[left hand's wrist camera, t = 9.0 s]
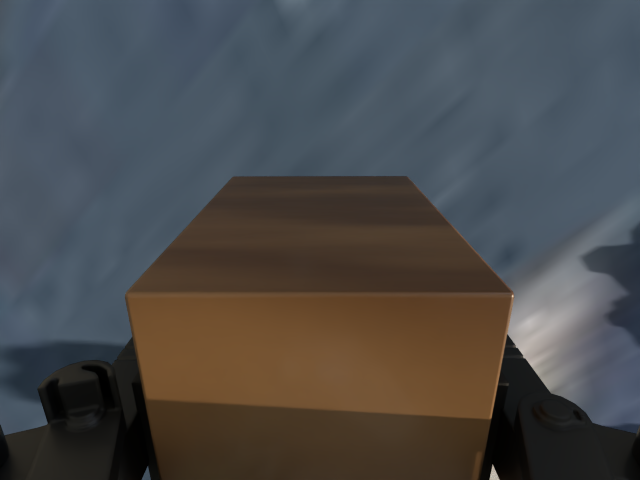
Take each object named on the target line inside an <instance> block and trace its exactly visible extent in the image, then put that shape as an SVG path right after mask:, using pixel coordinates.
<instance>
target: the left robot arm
mask: <svg viewBox="0 0 640 480" xmlns="http://www.w3.org/2000/svg"><path fill="white" fill-rule="evenodd" d="M38 393H39V396H40V399H41V402H42V406H43V409H44V412H45V415H46V419H47V422H48V424H47V425H45V426H42V427H38V428H34V429H30V430H26V431H21V432H17V433H13V434H8V435H4V433H3V431H2V428H1V425H0V480H142V477H143V475H144V473H145V471H146V468H147V466H148V468H149V472H150V477H151V480H160V477H159V472H158V466H157V461H156V456H155V451H154V446H153V440H152V435H151V430H150V425H149V420H148V415H147V409H146V404H145V399H144V394H143V389H142V383H141V378H140V373H139V368H138V363H137V357H136V352H135V347H134V342H133V337H132V338H131V339H130V341H129V342H128V343H127V345H126V346H125V349H123V350H122V352H121V353H120V354H119V356H118V357H117V360H115V361H114V363H113V364H112V365H110V364H109V363H108V362H104V361H100V360H89V361H82V362H78V363H74V364H70V365H68V366H66V367H64V368H62V369H59V370H57V371H55V372H54V373H53V374H51V375H50V376H49V377H47V378H46V379H45V380H44V381H43V382H42V383H41V385H40V386H39V387H38ZM492 464H493V466H494V468H495V470H496V472H497V475H498V477H499V479H500V480H640V426H639V429H638V432H637V434H635V433H631V432H627V431H622V430H618V429H614V428H609V427H605V426H601V425H598V424H594V423H592V421H591V420H590V418H589V417H588V415H587V414H586V413H585V412H584V411H583V410H582V409H581V408H579V407H578V406H577V405H576V404H575V403H573V402H571V401H569V400H567V399H565V398H563V397H561V396H558V395H554V394H551V393H550V392H549V390H548V389H547V387H546V386H545V385H544V383H543V382H542V381H541V379H540V378H539V377H538V375H537V374H536V373H535V371H534V370H533V368H532V367H531V366H530V364H529V363H528V362H527V360H526V359H525V358H523V355H522V353H521V352H520V351H519V349H518V348H516V345H515V344H514V343H513V341H512V340H511V339H510V337H509V336H508V334H507V337H506V343H505V348H504V354H503V359H502V364H501V370H500V375H499V380H498V386H497V391H496V396H495V402H494V407H493V412H492V418H491V423H490V428H489V434H488V439H487V444H486V450H485V455H484V460H483V466H482V471H481V476H480V480H489V479H490V474H491V469H492Z"/></svg>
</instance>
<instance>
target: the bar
mask: <svg viewBox="0 0 640 480" xmlns="http://www.w3.org/2000/svg"><path fill="white" fill-rule="evenodd" d="M125 300H126V305H127V311H128V316H129V321H130V326H131V331H132V337H133V342H134V347H135V352H136V357H137V363H138V368H139V373H140V378H141V383H142V389H143V394H144V399H145V404H146V409H147V415H148V420H149V425H150V430H151V435H152V440H153V446H154V451H155V456H156V461H157V466H158V472H159V477H160V480H480V476H481V471H482V466H483V460H484V455H485V450H486V444H487V439H488V434H489V428H490V423H491V418H492V412H493V407H494V402H495V396H496V391H497V386H498V380H499V375H500V370H501V364H502V359H503V354H504V348H505V343H506V337H507V332H508V327H509V321H510V316H511V311H512V305H513V300H514V294H513V291H512V290H511V289H510V288H509V287H508V286H507V285H506V284H505V283H504V282H503V281H502V279H501V278H500V277H499V276H498V275H497V274H496V273H495V272H494V271H493V270H492V269H491V267H490V266H489V265H488V264H487V263H486V262H485V261H484V260H483V259H482V258H481V257H480V255H479V254H478V253H477V252H476V251H475V250H474V249H473V248H472V247H471V246H470V245H469V243H468V242H467V241H466V240H465V239H464V238H463V237H462V236H461V235H460V234H459V232H458V231H457V230H456V229H455V228H454V227H453V226H452V225H451V224H450V223H449V222H448V220H447V219H446V218H445V217H444V216H443V215H442V214H441V213H440V212H439V211H438V210H437V208H436V207H435V206H434V205H433V204H432V203H431V202H430V201H429V200H428V199H427V198H426V196H425V195H424V194H423V193H422V192H421V191H420V190H419V189H418V188H417V187H416V186H415V184H414V183H413V182H412V181H411V180H410V179H409V178H408V177H406V176H286V177H232V178H231V179H230V180H229V181H228V183H227V184H226V185H225V186H224V187H223V188H222V189H221V190H220V191H219V192H218V193H217V194H216V196H215V197H214V198H213V199H212V200H211V201H210V202H209V203H208V204H207V205H206V206H205V207H204V209H203V210H202V211H201V212H200V213H199V214H198V215H197V216H196V217H195V218H194V219H193V220H192V222H191V223H190V224H189V225H188V226H187V227H186V228H185V229H184V230H183V231H182V232H181V233H180V235H179V236H178V237H177V238H176V239H175V240H174V241H173V242H172V243H171V244H170V245H169V246H168V248H167V249H166V250H165V251H164V252H163V253H162V254H161V255H160V256H159V257H158V258H157V259H156V261H155V262H154V263H153V264H152V265H151V266H150V267H149V268H148V269H147V270H146V271H145V272H144V274H143V275H142V276H141V277H140V278H139V279H138V280H137V281H136V282H135V283H134V284H133V285H132V287H131V288H130V289H129V290H128V291H127V292H126V295H125Z"/></svg>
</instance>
